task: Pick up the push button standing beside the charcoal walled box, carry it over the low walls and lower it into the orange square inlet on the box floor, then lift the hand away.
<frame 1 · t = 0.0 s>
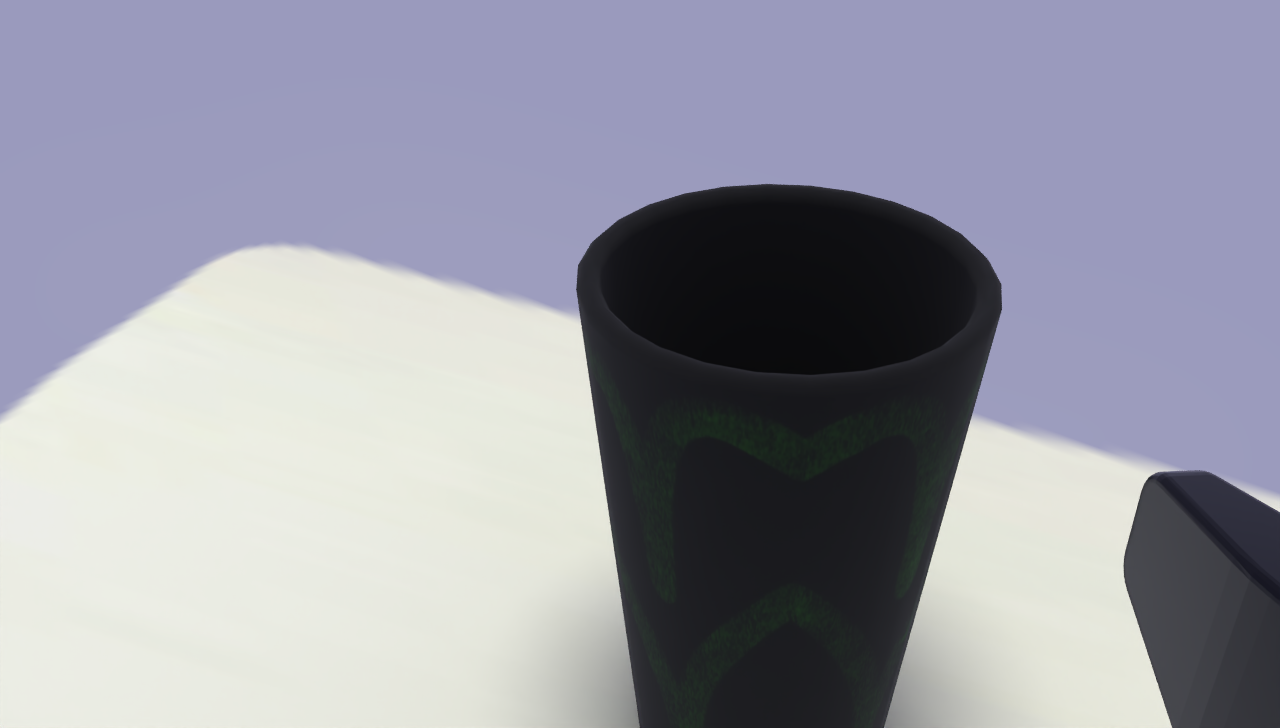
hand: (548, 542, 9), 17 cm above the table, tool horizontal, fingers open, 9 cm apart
cup: (758, 727, 29), on the table
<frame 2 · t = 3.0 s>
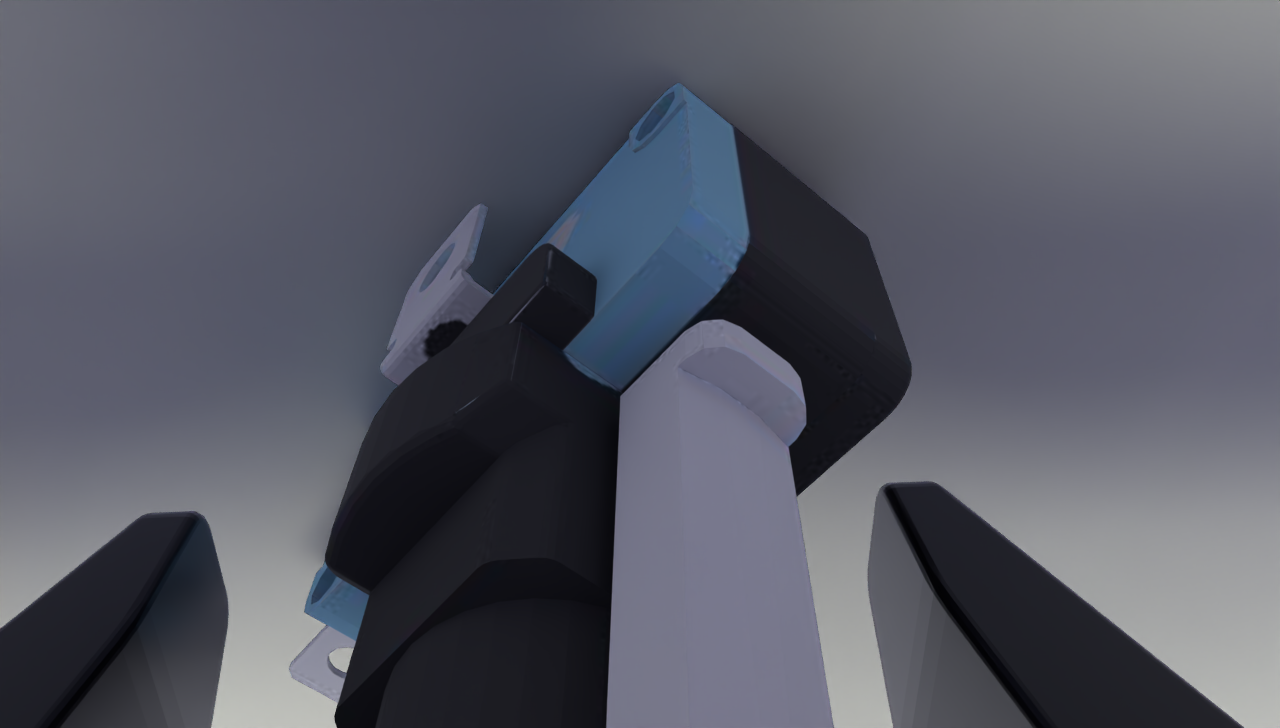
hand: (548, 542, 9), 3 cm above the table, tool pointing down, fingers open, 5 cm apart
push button: (543, 360, 12), on the table, touching gripper
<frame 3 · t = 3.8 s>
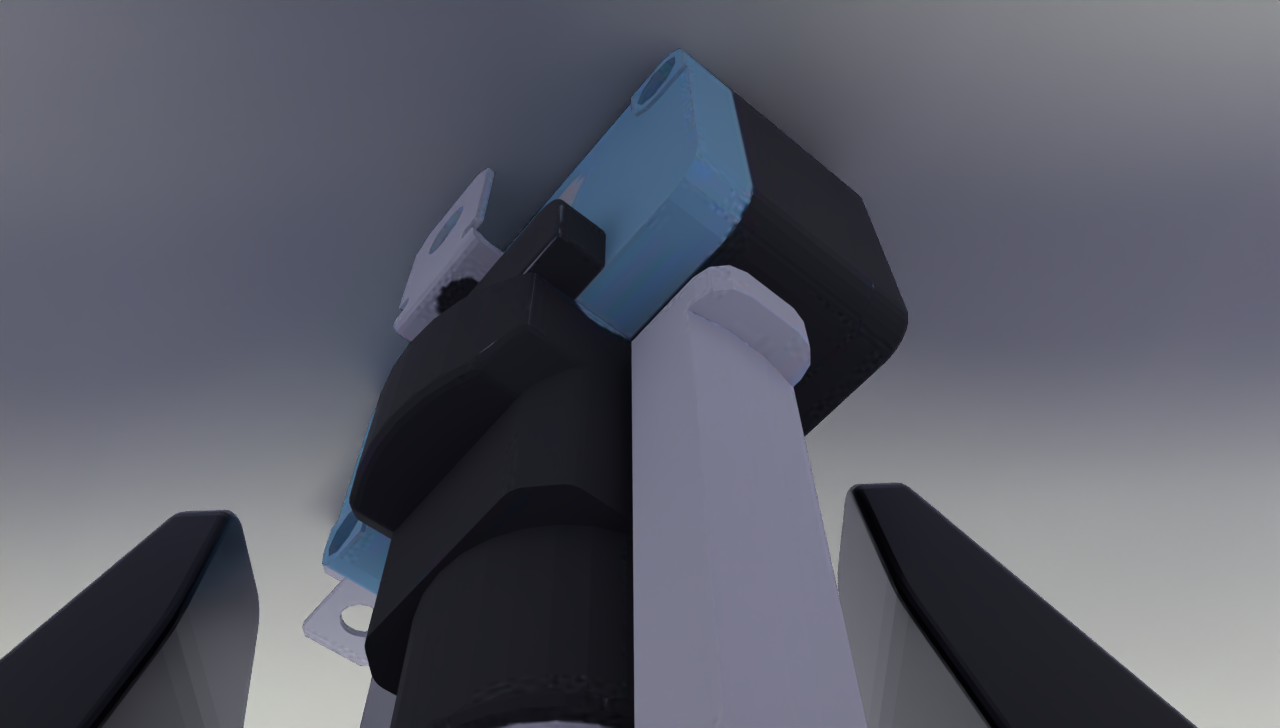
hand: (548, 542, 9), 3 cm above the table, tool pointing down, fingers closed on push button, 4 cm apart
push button: (546, 325, 12), on the table, touching gripper
when the fingers open (4 cm above the table, at t = 7.7 s): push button stays where it is, resting on walled box.
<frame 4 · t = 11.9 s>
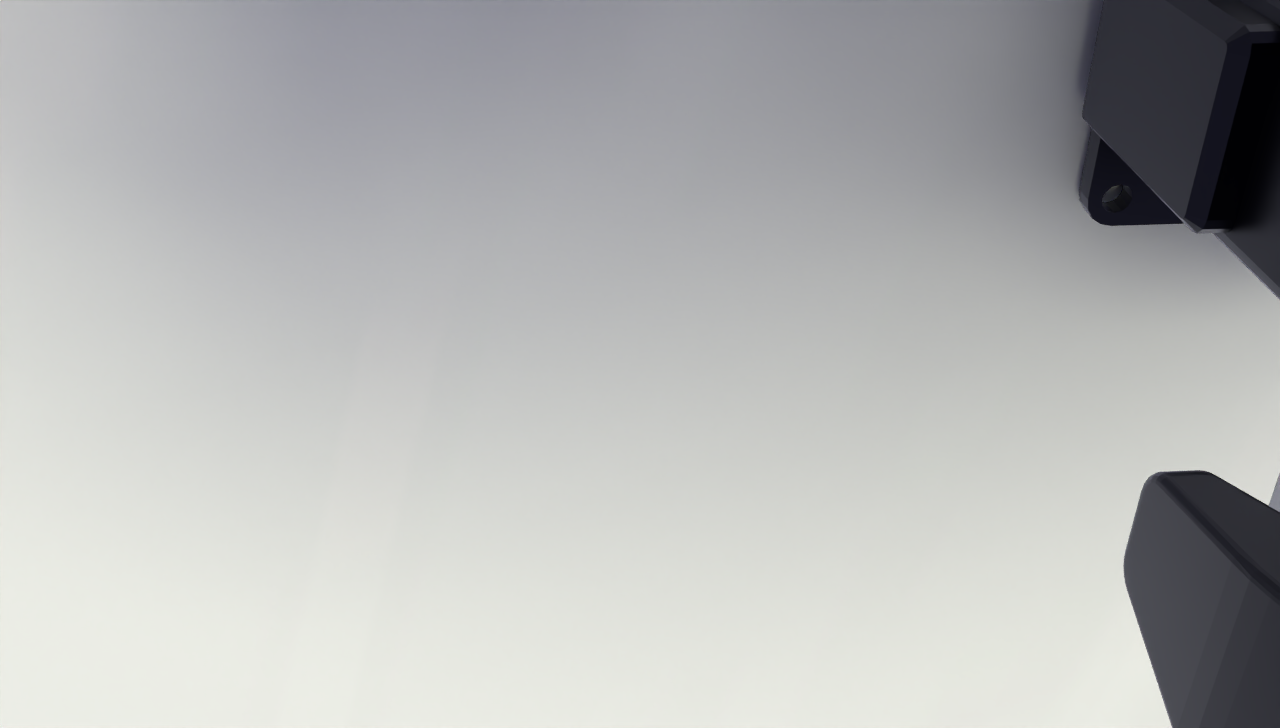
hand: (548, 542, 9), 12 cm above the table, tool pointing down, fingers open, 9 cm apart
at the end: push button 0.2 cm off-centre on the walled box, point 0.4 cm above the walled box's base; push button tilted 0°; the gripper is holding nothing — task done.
